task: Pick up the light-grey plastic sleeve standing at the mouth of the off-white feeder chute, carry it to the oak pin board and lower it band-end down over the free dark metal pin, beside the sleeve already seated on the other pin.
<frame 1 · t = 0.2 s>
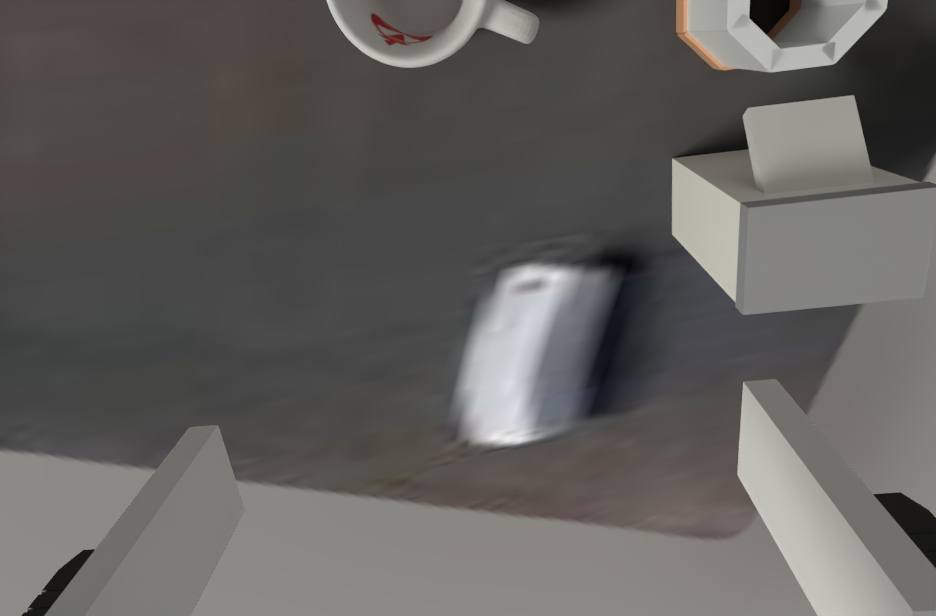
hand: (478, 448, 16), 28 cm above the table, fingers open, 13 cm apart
feeder: (736, 153, 40), on the table
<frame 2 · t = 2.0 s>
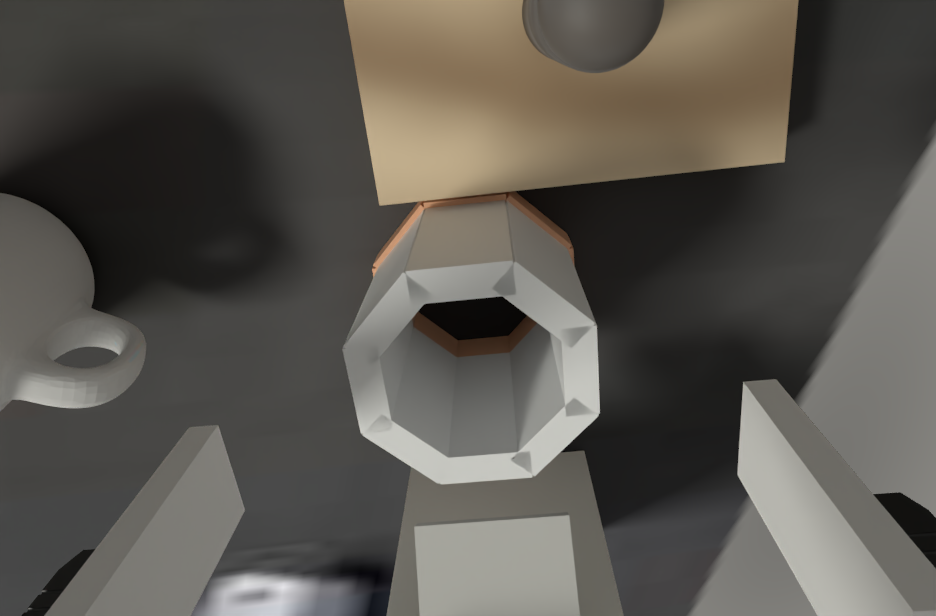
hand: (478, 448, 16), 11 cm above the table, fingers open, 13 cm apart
feeder: (497, 461, 29), on the table
sleeve: (476, 281, 26), on the table
cup: (63, 274, 26), on the table
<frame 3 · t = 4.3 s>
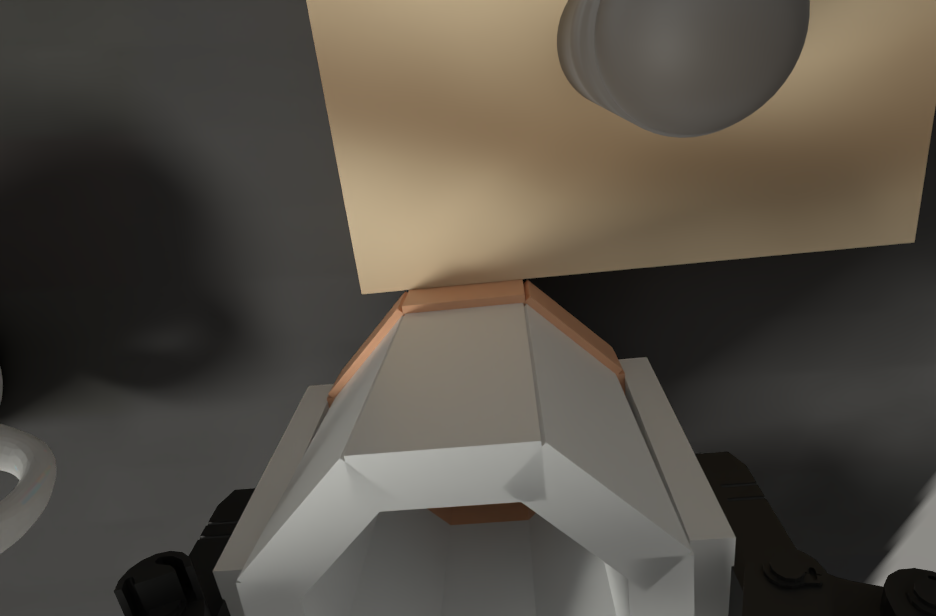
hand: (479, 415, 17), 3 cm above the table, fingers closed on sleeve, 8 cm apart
sleeve: (480, 411, 18), point 2 cm above the table, touching gripper
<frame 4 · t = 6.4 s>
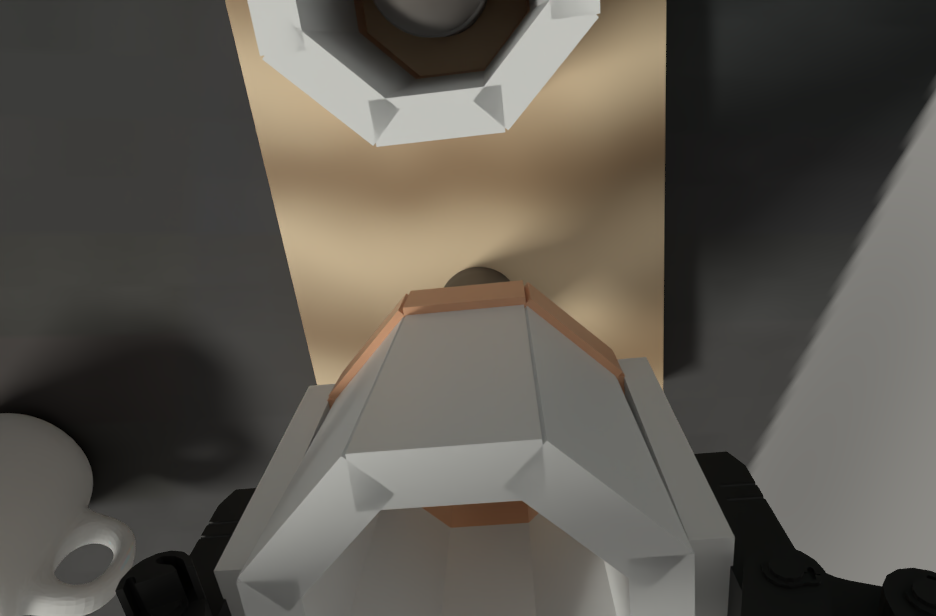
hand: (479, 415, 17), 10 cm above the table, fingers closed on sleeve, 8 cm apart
pin board: (464, 150, 24), on the table
sleeve: (481, 414, 18), point 9 cm above the table, tilted 6°, touching gripper
cup: (67, 467, 31), on the table
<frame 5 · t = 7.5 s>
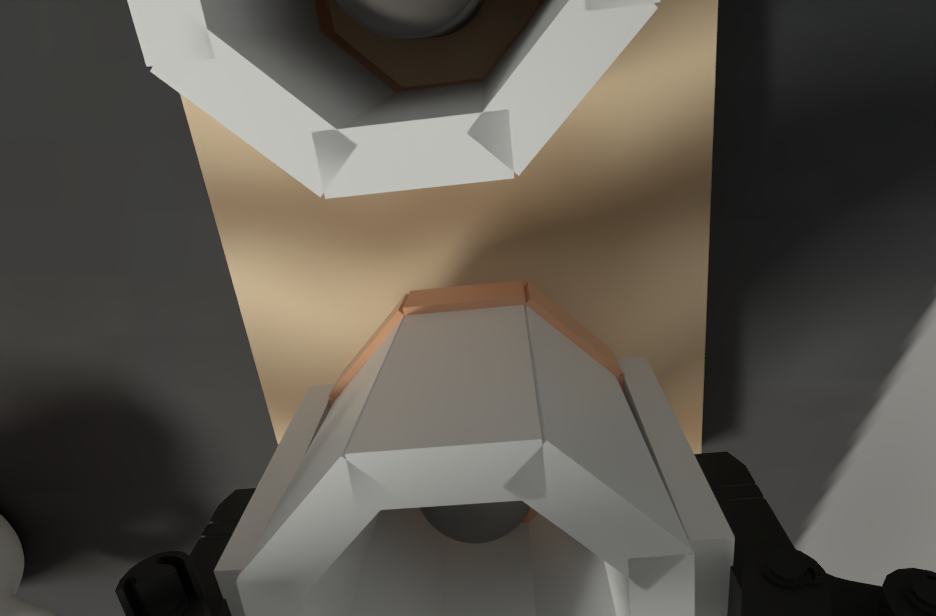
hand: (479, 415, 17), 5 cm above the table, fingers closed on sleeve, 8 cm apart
pin board: (459, 177, 19), on the table
sleeve: (481, 414, 18), point 4 cm above the table, tilted 6°, touching gripper
when the fingers open (3 cm above the table, at t = 8.2 s): sleeve stays where it is, resting on pin board.
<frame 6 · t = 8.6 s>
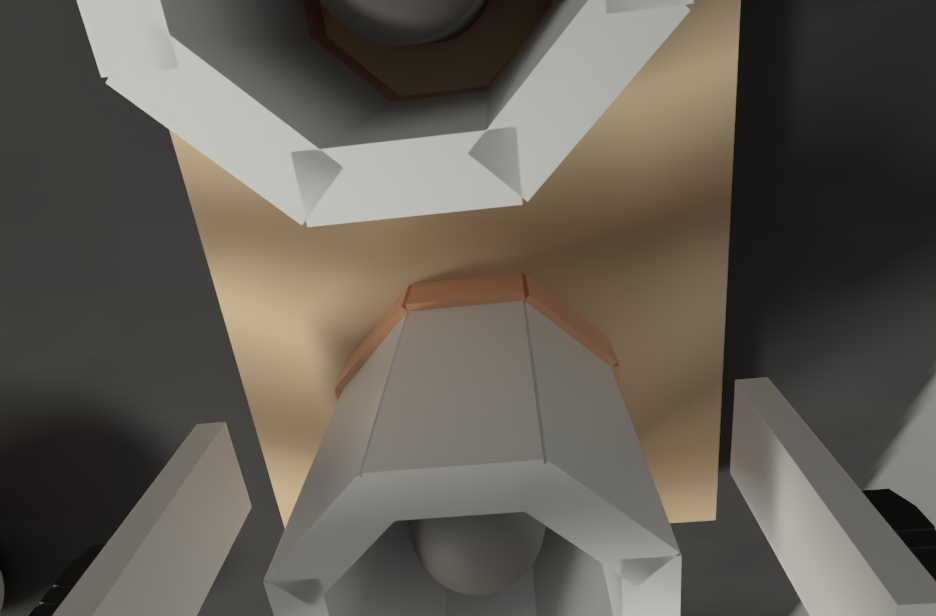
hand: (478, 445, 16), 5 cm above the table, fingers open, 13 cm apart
pin board: (460, 190, 18), on the table
sleeve: (481, 397, 19), point 2 cm above the table, touching pin board
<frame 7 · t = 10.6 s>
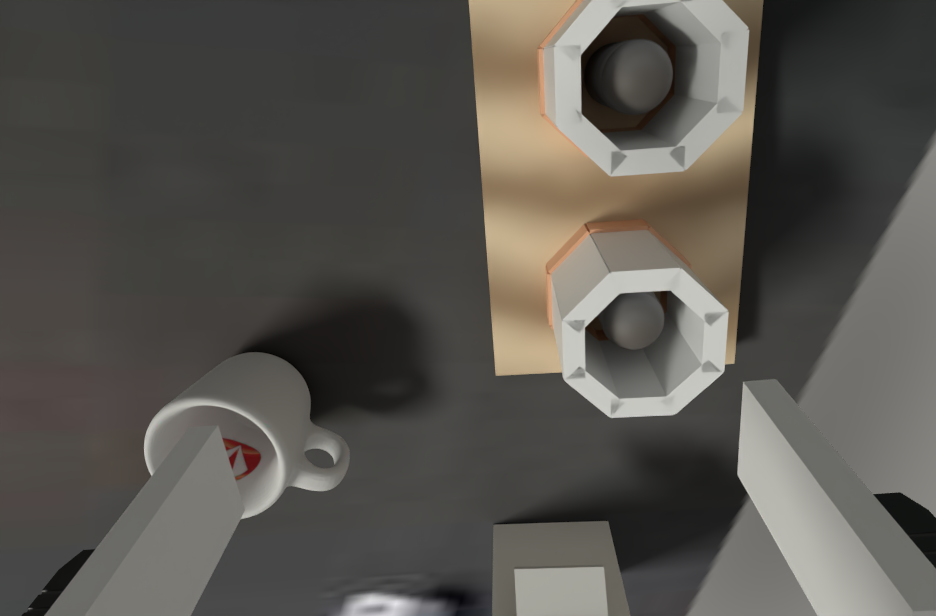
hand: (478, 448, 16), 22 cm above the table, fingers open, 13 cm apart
sleeve seated: (614, 74, 32), point 2 cm above the table, touching pin board
feeder: (550, 525, 44), on the table
pin board: (608, 178, 35), on the table
sleeve: (613, 286, 36), point 2 cm above the table, touching pin board
cup: (287, 397, 42), on the table
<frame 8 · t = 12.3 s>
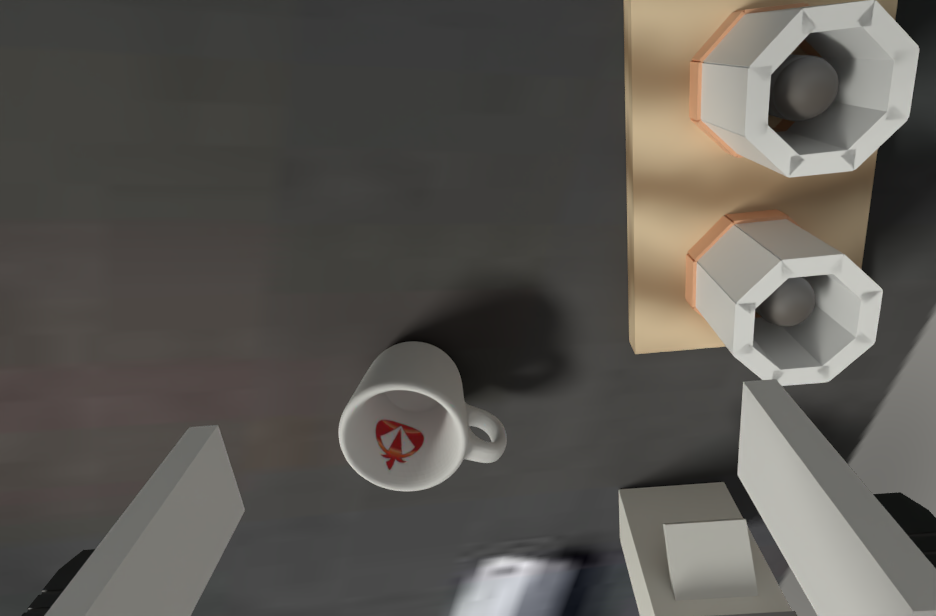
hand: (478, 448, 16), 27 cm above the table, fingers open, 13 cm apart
sleeve seated: (758, 81, 35), point 2 cm above the table, touching pin board
feeder: (670, 487, 49), on the table
pin board: (740, 172, 39), on the table
sleeve: (747, 270, 40), point 2 cm above the table, touching pin board
cup: (434, 381, 46), on the table
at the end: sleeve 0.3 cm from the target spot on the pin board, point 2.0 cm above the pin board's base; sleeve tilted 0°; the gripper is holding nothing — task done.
